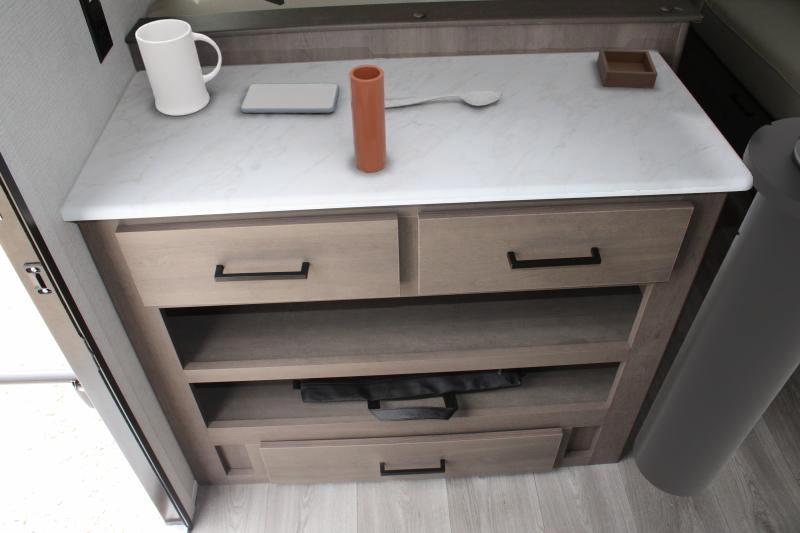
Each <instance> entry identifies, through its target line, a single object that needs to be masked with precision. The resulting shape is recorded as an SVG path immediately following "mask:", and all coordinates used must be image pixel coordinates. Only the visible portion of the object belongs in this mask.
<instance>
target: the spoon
mask: <svg viewBox="0 0 800 533" xmlns="http://www.w3.org/2000/svg"><path fill="white" fill-rule="evenodd" d="M501 97H502V93H501V92H500V91H496V90H484V91H483V90H482V91H465V92H454V93H448V94H441V95H431V96H421V97H411V98H400V99H385V109H390V108H397V107H406V106H411V105H415V104H421V103H426V102H429V101H435V100H443V99H448V98H460V99H462V100H463V101H464V102H465V103H467V104H469V105H472V106H476V107H479V106H486V105H490V104H492V103H494V102H496V101H497V100H499V99H500V98H501Z"/></svg>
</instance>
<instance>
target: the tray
mask: <svg viewBox="0 0 800 533" xmlns="http://www.w3.org/2000/svg"><path fill="white" fill-rule="evenodd" d="M596 66H597V69H598V73H599V76H600V80H601V85H602V87H609V88H612V87H613V88H635V89H636V88H637V89H654V88H655V84H656V81H657V78H658V71H657V68H656V66H655V63H654V61H653V59H652V57H651V54H650V52H649V50H639V49H638V50H635V49H610V48H609V49H608V48H607V49H606V48H604V49H603V48H600V49H599V51H598V55H597V60H596Z"/></svg>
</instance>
